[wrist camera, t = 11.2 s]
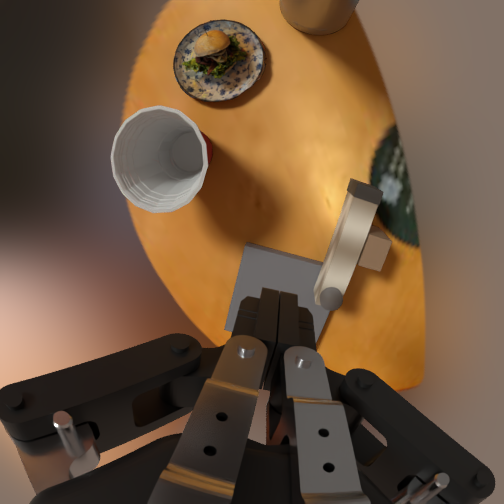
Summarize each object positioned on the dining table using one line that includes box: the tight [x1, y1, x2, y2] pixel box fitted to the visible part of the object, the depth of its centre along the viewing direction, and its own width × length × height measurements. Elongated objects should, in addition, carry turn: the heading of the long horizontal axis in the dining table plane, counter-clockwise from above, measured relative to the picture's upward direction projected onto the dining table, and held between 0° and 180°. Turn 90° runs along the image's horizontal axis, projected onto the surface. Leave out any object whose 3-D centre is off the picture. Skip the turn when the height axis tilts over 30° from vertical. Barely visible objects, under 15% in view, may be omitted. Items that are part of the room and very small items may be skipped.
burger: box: [173, 20, 267, 102], centre depth 31 cm, size 12×12×8 cm
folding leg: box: [313, 179, 383, 311], centre depth 37 cm, size 16×3×5 cm, turn 166°
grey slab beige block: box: [224, 225, 392, 342], centre depth 41 cm, size 21×17×6 cm
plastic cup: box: [111, 105, 213, 213], centre depth 33 cm, size 11×11×12 cm
